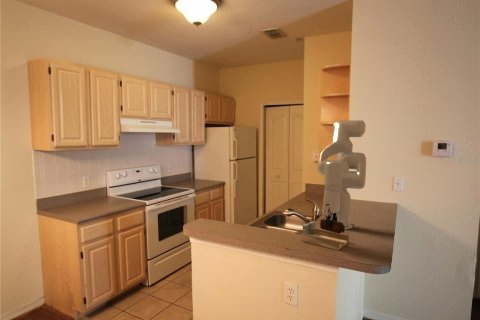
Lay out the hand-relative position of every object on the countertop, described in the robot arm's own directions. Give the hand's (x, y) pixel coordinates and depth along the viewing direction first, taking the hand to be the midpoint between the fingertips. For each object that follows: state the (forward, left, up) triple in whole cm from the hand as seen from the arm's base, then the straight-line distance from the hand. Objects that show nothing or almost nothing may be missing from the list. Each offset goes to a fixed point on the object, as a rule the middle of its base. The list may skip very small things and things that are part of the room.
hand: (331, 226), depth 136 cm
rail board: (0, -3, -8) cm, 8 cm away
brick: (0, 0, -2) cm, 2 cm away
